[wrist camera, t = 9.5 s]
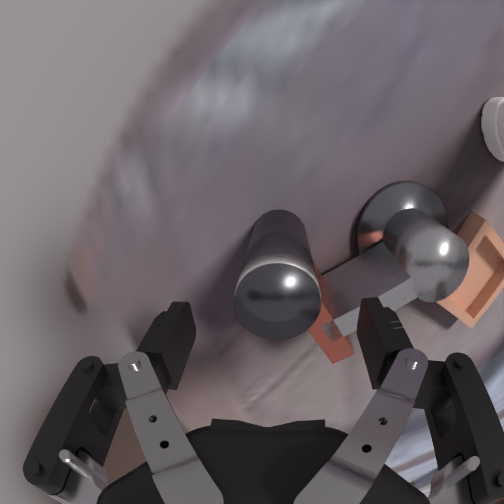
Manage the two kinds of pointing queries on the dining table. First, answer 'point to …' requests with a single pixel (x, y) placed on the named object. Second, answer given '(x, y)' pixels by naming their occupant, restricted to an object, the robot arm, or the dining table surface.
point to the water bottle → (494, 126)
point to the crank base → (395, 210)
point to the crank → (389, 277)
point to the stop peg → (278, 279)
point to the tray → (478, 271)
